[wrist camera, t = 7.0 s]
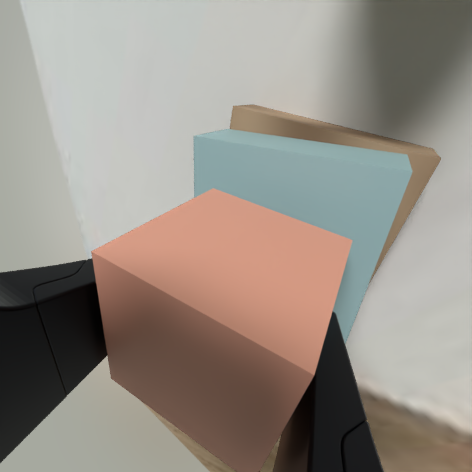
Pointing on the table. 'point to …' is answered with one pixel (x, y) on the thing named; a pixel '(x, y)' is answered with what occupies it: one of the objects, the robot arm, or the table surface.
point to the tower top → (312, 193)
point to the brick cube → (220, 318)
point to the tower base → (314, 130)
